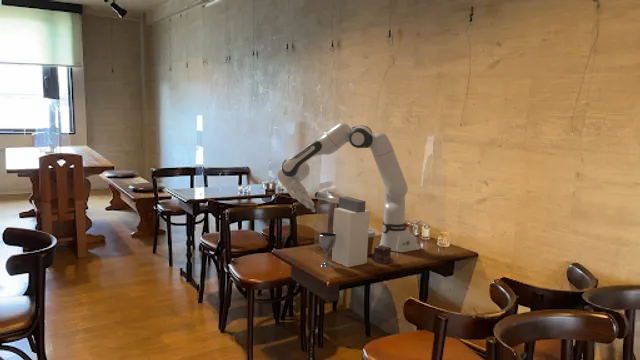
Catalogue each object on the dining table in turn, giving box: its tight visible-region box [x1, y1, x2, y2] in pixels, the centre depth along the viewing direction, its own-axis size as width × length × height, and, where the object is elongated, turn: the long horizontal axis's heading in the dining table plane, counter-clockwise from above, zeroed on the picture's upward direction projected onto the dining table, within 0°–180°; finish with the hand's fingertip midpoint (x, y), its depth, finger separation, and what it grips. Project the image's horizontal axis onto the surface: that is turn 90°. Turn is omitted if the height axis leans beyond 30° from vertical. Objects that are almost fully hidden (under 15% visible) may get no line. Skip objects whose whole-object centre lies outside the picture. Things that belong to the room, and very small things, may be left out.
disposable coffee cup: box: [367, 229, 376, 256], centre depth 256 cm, size 10×10×12 cm
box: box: [373, 244, 392, 265], centre depth 244 cm, size 6×6×7 cm
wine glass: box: [318, 231, 336, 268], centre depth 235 cm, size 8×8×15 cm
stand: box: [331, 196, 370, 268], centre depth 240 cm, size 14×12×31 cm
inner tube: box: [314, 191, 340, 205], centre depth 250 cm, size 23×3×3 cm, turn 38°
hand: (311, 209), depth 269 cm, fingers open, 8 cm apart
